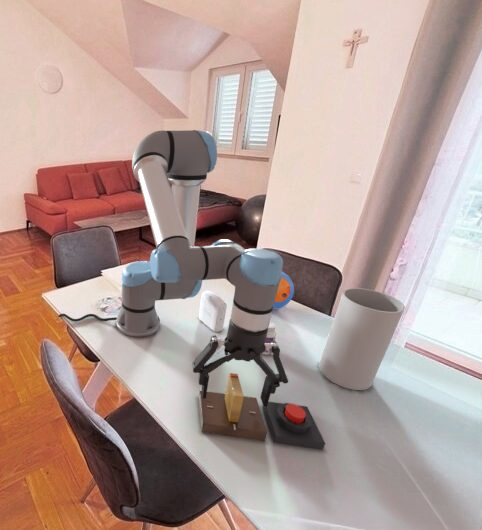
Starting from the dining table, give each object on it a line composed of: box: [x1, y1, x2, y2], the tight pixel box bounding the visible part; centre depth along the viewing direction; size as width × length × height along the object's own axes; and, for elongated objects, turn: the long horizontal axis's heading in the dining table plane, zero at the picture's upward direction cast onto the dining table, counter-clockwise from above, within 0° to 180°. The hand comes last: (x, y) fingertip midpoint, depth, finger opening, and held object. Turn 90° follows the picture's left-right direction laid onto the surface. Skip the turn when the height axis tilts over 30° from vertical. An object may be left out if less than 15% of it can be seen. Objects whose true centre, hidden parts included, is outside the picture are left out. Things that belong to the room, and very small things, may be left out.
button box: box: [262, 401, 326, 451], centre depth 73 cm, size 10×10×4 cm
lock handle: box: [224, 372, 245, 422], centre depth 74 cm, size 7×2×8 cm, turn 170°
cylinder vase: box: [318, 287, 406, 391], centre depth 85 cm, size 12×12×25 cm
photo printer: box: [198, 290, 228, 333], centre depth 111 cm, size 10×4×12 cm, turn 23°
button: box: [285, 403, 306, 424], centre depth 72 cm, size 4×4×2 cm
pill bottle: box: [261, 321, 277, 356], centre depth 98 cm, size 5×5×10 cm
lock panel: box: [197, 390, 268, 442], centre depth 76 cm, size 14×11×3 cm
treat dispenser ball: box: [273, 271, 295, 310], centre depth 122 cm, size 16×15×15 cm
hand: (233, 398), depth 74 cm, fingers open, 13 cm apart
